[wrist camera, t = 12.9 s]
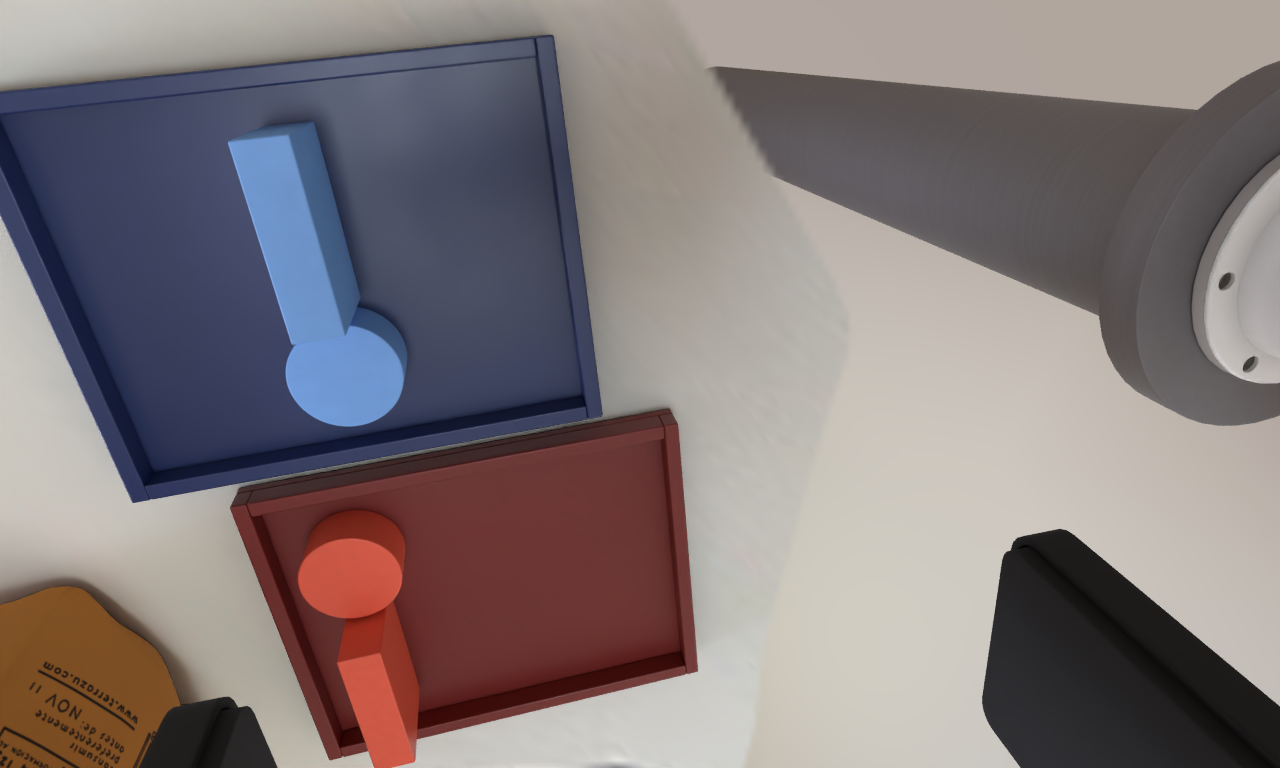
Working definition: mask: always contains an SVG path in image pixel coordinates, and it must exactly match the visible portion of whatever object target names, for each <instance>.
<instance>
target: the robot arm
mask: <svg viewBox="0 0 1280 768" xmlns="http://www.w3.org/2000/svg"><path fill="white" fill-rule="evenodd" d="M1191 308H1192V319H1193V329H1194V332H1195V335H1196V338H1197V341H1198V344H1199V346H1200V348H1201V349H1202V351H1203V352H1204V354H1205V355H1206V357H1207V358H1208V360H1210V361H1211V362H1212V363H1213V364H1215V365H1216V366H1217V367H1218V368H1220V369H1221V370H1223V371H1225V372H1228V373H1230V374H1232V375H1234V376H1236V377H1239V378H1241V379H1244V380H1248V381H1252V382H1256V383H1280V155H1278V156H1277V157H1276V158H1275V159H1273V160H1272V161H1271V162H1269V163H1268V164H1267V165H1266V166H1264V167H1263V168H1262V169H1261V170H1260V171H1259V172H1258V173H1257V174H1256V175H1255V176H1254V177H1253V178H1252V180H1251V181H1250V182H1249V183H1248V184H1247V185H1246V186H1245V187H1244V188H1243V189H1242V190H1241V191H1240V193H1239V194H1238V195H1237V197H1236V198H1235V199H1234V201H1233V202H1232V203H1231V204H1230V206H1229V207H1228V208H1227V210H1226V211H1225V213H1224V214H1223V216H1222V218H1221V219H1220V221H1219V223H1218V224H1217V226H1216V228H1215V229H1214V231H1213V233H1212V234H1211V237H1210V239H1209V241H1208V244H1207V246H1206V248H1205V250H1204V253H1203V255H1202V257H1201V260H1200V263H1199V267H1198V271H1197V274H1196V278H1195V282H1194V288H1193V297H1192V307H1191ZM982 704H983V710H984V713H985V716H986V718H987V721H988V723H989V725H990V726H991V728H992V729H993V731H994V732H995V734H996V735H997V736H998V738H999V739H1000V740H1001V742H1002V743H1003V744H1004V746H1005V747H1006V748H1007V750H1008V751H1009V752H1010V754H1011V755H1012V756H1013V758H1014V759H1015V761H1016V762H1017V763H1018V765H1019V766H1020V767H1021V768H1280V706H1279V705H1277V704H1276V703H1275V702H1274V701H1273V700H1271V699H1270V698H1269V697H1268V696H1267V695H1265V694H1264V693H1263V692H1262V691H1261V690H1259V689H1258V688H1257V687H1256V686H1255V685H1253V684H1252V683H1251V682H1250V681H1249V680H1247V679H1246V678H1245V677H1244V676H1243V675H1241V674H1240V673H1239V672H1238V671H1237V670H1235V669H1234V668H1233V667H1232V666H1231V665H1229V664H1228V663H1227V662H1226V661H1224V660H1223V659H1222V658H1221V657H1220V656H1219V655H1217V654H1216V653H1215V652H1214V651H1213V650H1211V649H1210V648H1209V647H1208V646H1206V645H1205V644H1204V643H1203V642H1202V641H1201V640H1199V639H1198V638H1197V637H1196V636H1195V635H1193V634H1192V633H1191V632H1190V631H1189V630H1187V629H1186V628H1185V627H1184V626H1183V625H1181V624H1180V623H1179V622H1178V621H1177V620H1175V619H1174V618H1173V617H1172V616H1171V615H1169V614H1168V613H1167V612H1166V611H1165V610H1163V609H1162V608H1161V607H1160V606H1159V605H1157V604H1156V603H1155V602H1154V601H1152V600H1151V599H1150V598H1149V597H1148V596H1147V595H1145V594H1144V593H1143V592H1142V591H1140V590H1139V589H1138V588H1137V587H1136V586H1134V585H1133V584H1132V583H1131V582H1130V581H1129V580H1127V579H1126V578H1125V577H1124V576H1123V575H1121V574H1120V573H1119V572H1118V571H1117V570H1115V569H1114V568H1113V567H1112V566H1111V565H1109V564H1108V563H1107V562H1106V561H1105V560H1103V559H1102V558H1101V557H1100V556H1098V555H1097V554H1096V553H1095V552H1094V551H1093V550H1091V549H1090V548H1089V547H1088V546H1087V545H1085V544H1084V543H1083V542H1082V541H1081V540H1079V539H1078V538H1077V537H1076V536H1075V535H1073V534H1072V533H1070V532H1068V531H1067V530H1062V529H1057V530H1052V531H1047V532H1042V533H1037V534H1032V535H1027V536H1023V537H1019V538H1017V539H1016V540H1015V541H1014V542H1013V545H1012V548H1011V551H1008V552H1006V553H1005V554H1004V556H1003V560H1002V566H1001V573H1000V580H999V586H998V593H997V600H996V607H995V614H994V621H993V628H992V635H991V641H990V649H989V656H988V662H987V669H986V676H985V682H984V689H983V696H982ZM140 768H277V765H276V763H275V761H274V758H273V756H272V754H271V751H270V749H269V747H268V744H267V742H266V740H265V737H264V735H263V733H262V730H261V728H260V726H259V723H258V721H257V719H256V716H255V714H254V712H253V711H252V709H251V708H250V707H248V706H244V707H239V708H238V706H237V705H236V703H235V702H234V700H233V699H231V698H230V697H222V698H217V699H212V700H207V701H202V702H197V703H192V704H187V705H182V706H177V707H173V708H172V709H170V710H169V711H168V712H167V713H166V715H165V717H164V718H163V720H162V722H161V724H160V726H159V728H158V730H157V732H156V734H155V736H154V739H153V741H152V743H151V745H150V747H149V749H148V751H147V753H146V755H145V757H144V759H143V762H142V764H141V766H140Z"/></svg>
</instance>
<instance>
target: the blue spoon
mask: <svg viewBox="0 0 1280 768" xmlns="http://www.w3.org/2000/svg"><path fill="white" fill-rule="evenodd" d="M228 145H229V148H230V151H231V154H232V157H233V160H234V164H235V167H236V170H237V173H238V176H239V179H240V182H241V186H242V189H243V192H244V195H245V198H246V201H247V205H248V208H249V211H250V214H251V217H252V220H253V224H254V227H255V230H256V233H257V236H258V239H259V242H260V246H261V249H262V252H263V255H264V258H265V261H266V265H267V268H268V271H269V274H270V277H271V280H272V284H273V287H274V290H275V293H276V296H277V299H278V303H279V306H280V309H281V312H282V315H283V318H284V321H285V325H286V328H287V331H288V334H289V337H290V340H291V343H292V345H294V347H293V349H292V351H291V352H290V355H289V357H288V360H287V364H286V381H287V385H288V388H289V390H290V393H291V395H292V396H293V398H294V400H295V401H296V402H297V403H298V405H299V406H300V407H301V408H302V409H303V410H304V411H306V412H307V413H308V414H310V415H311V416H313V417H314V418H316V419H318V420H320V421H323V422H325V423H328V424H332V425H337V426H359V425H364V424H368V423H370V422H373V421H375V420H377V419H379V418H381V417H382V416H384V415H385V414H387V413H388V412H389V411H390V410H391V409H392V408H393V407H394V405H395V404H396V403H397V401H398V399H399V397H400V395H401V393H402V389H403V385H404V379H405V373H406V367H407V350H406V346H405V342H404V340H403V338H402V336H401V334H400V333H399V331H398V330H397V329H396V327H395V326H394V325H393V324H392V323H391V322H390V321H388V320H387V319H386V318H384V317H383V316H381V315H379V314H378V313H376V312H373V311H371V310H368V309H364V308H360V307H357V305H358V303H359V300H360V298H361V296H360V293H359V289H358V285H357V281H356V277H355V274H354V270H353V266H352V262H351V259H350V255H349V251H348V247H347V244H346V240H345V236H344V232H343V229H342V225H341V221H340V217H339V214H338V210H337V206H336V202H335V199H334V195H333V191H332V187H331V184H330V180H329V176H328V172H327V168H326V165H325V161H324V157H323V153H322V150H321V146H320V142H319V138H318V135H317V131H316V127H315V123H314V121H306V122H298V123H289V124H280V125H272V126H263V127H261V128H258V129H256V130H254V131H251V132H249V133H247V134H244V135H242V136H239V137H237V138H235V139H232V140H230V141H228Z"/></svg>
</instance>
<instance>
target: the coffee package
mask: <svg viewBox="0 0 1280 768" xmlns="http://www.w3.org/2000/svg"><path fill="white" fill-rule="evenodd" d="M177 706H181V705H180V702H179V699H178V696H177V693H176V690H175V688H174V685H173V682H172V679H171V677H170V674H169V672H168V669H167V667H166V664H165V662H164V661H163V659H162V657H161V655H160V654H159V653H158V651H157V650H156V649H155V648H154V647H153V646H152V645H151V644H150V643H148V642H147V641H146V640H144V639H143V638H141V637H140V636H139V635H137V634H136V633H134V632H132V631H131V630H129V629H127V628H126V627H124V626H123V625H121V624H120V623H118V622H116V621H115V620H114V619H113V618H112V617H111V616H110V615H109V614H108V613H107V611H106V610H105V609H104V608H103V607H102V606H101V605H100V604H99V603H98V602H97V601H96V600H95V599H94V598H93V597H92V596H91V595H90V594H89V593H88V592H86V591H84V590H83V589H81V588H76V587H68V586H63V587H53V588H48V589H44V590H42V591H39V592H37V593H34V594H32V595H29V596H27V597H24V598H22V599H19V600H15V601H12V602H8V603H5V604H1V605H0V768H140V766H141V764H142V762H143V759H144V757H145V755H146V753H147V751H148V749H149V747H150V745H151V743H152V741H153V739H154V736H155V734H156V732H157V730H158V728H159V726H160V724H161V722H162V720H163V718H164V717H165V715H166V713H167V712H168V711H169V710H170V709H172V708H173V707H177Z"/></svg>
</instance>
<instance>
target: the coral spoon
mask: <svg viewBox="0 0 1280 768" xmlns="http://www.w3.org/2000/svg"><path fill="white" fill-rule="evenodd" d="M405 550H406V549H405V540H404V538H403V535H402V533H401V532H400V530H399V529H398V527H397V526H396V525H395V524H394V523H393V522H392V521H390V520H389V519H387V518H386V517H384V516H382V515H380V514H377V513H374V512H370V511H365V510H349V511H343V512H339V513H336V514H334V515H331V516H329V517H328V518H326V519H324V520H323V521H322V522H320V523H319V524H318V525H317V526H316V527H315V528H314V530H313V531H312V533H311V534H310V537H309V539H308V542H307V545H306V548H305V552H304V555H303V558H302V561H301V565H300V568H299V572H298V585H299V589H300V591H301V594H302V596H303V597H304V599H305V600H306V601H307V602H308V603H309V604H310V605H311V606H312V607H313V608H315V609H316V610H318V611H320V612H322V613H324V614H327V615H329V616H333V617H338V618H346V620H345V625H344V630H343V635H342V640H341V645H340V650H339V655H338V660H337V665H338V668H339V671H340V673H341V676H342V679H343V682H344V685H345V687H346V690H347V693H348V696H349V698H350V701H351V704H352V707H353V710H354V712H355V715H356V718H357V721H358V724H359V726H360V729H361V732H362V735H363V737H364V740H365V743H366V746H367V749H368V751H369V754H370V757H371V760H372V762H373V765H374V768H392V767H396V766H400V765H404V764H408V763H412V762H415V756H416V740H417V724H418V709H419V693H420V687H419V684H418V680H417V677H416V674H415V670H414V667H413V664H412V660H411V657H410V654H409V650H408V647H407V644H406V640H405V637H404V634H403V630H402V627H401V624H400V620H399V617H398V614H397V610H396V607H395V604H394V601H393V600H394V598H395V597H396V596H397V594H398V592H399V590H400V588H401V585H402V578H403V569H404V560H405Z"/></svg>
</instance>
